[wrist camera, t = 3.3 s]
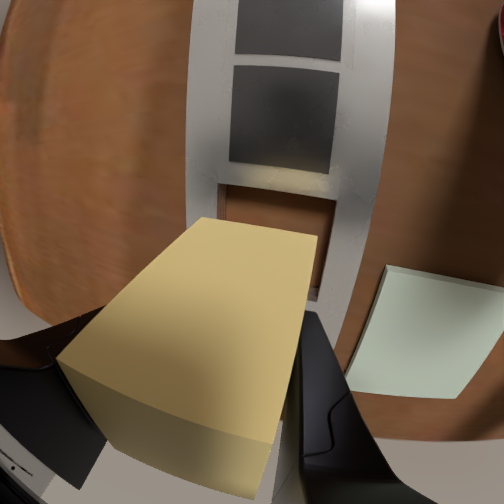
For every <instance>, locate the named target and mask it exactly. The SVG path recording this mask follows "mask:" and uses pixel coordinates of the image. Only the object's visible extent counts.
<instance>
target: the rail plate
mask: <svg viewBox="0 0 504 504" xmlns="http://www.w3.org/2000/svg"><path fill="white" fill-rule="evenodd" d="M394 49H395V0H194V5H193V15H192V25H191V37H190V50H189V65H188V84H187V109H186V221H187V229H188V228H190V227H191V226H192V225H193V224H194V223H195V222H196V221H198V220H199V219H200V218H201V217H205V218H211V219H218V220H224V221H225V219H226V187H227V184H230V185H239V186H246V187H254V188H261V189H269V190H276V191H282V192H289V193H295V194H302V195H308V196H314V197H320V198H326V199H331V200H336V203H335V209H334V215H333V221H332V226H331V232H330V237H329V242H328V247H327V252H326V257H325V262H324V267H323V272H322V277H321V281H320V286H319V288H315V287H310V286H309V290H308V295H307V301H306V306H305V310H308V311H313V312H316V313H317V314H318V316H319V319H320V321H321V323H322V325H323V328H324V330H325V332H326V335H327V337H328V339H329V341H330V344H331V346H332V348H333V350H334V347H335V345H336V342H337V339H338V336H339V333H340V330H341V327H342V324H343V321H344V318H345V314H346V311H347V308H348V305H349V302H350V298H351V295H352V291H353V288H354V285H355V281H356V277H357V274H358V270H359V267H360V263H361V259H362V255H363V251H364V247H365V243H366V239H367V235H368V231H369V226H370V222H371V218H372V213H373V208H374V204H375V199H376V194H377V189H378V184H379V178H380V173H381V167H382V161H383V155H384V148H385V142H386V135H387V127H388V120H389V111H390V102H391V92H392V81H393V67H394Z"/></svg>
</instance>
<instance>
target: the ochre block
mask: <svg viewBox="0 0 504 504" xmlns="http://www.w3.org/2000/svg"><path fill="white" fill-rule="evenodd" d="M317 238H318V236H314V235H308V234H303V233H297V232H291V231H285V230H279V229H273V228H268V227H262V226H255V225H249V224H243V223H237V222H231V221H224V220H218V219H211V218H205V217H201V218H200V219H199V220H198V221H196V222H195V223H194V224H193V225H192V226H191V227H190V228H188V229H187V230H186V231H185V232H184V233H183V234H182V235H181V236H180V237H178V238H177V239H176V240H175V241H174V242H173V243H172V244H171V245H170V246H168V247H167V248H166V249H165V250H164V251H163V252H162V253H161V254H160V255H159V256H158V257H156V258H155V259H154V260H153V261H152V262H151V263H150V264H149V265H148V266H147V267H146V268H145V269H144V270H143V271H141V272H140V273H139V274H138V275H137V276H136V277H135V278H134V279H133V280H132V281H131V282H130V283H129V284H128V285H127V286H126V287H125V288H124V289H123V290H122V291H121V292H120V293H119V294H118V295H117V296H116V297H114V298H113V299H112V300H111V301H110V302H109V303H108V304H107V305H106V306H105V307H104V308H103V309H102V310H101V311H100V312H99V313H98V314H97V315H96V316H95V317H94V318H93V320H92V321H91V322H90V323H89V324H88V325H87V326H86V327H85V328H84V329H83V330H82V331H81V332H80V333H79V334H78V335H77V336H76V337H75V338H74V339H73V340H72V341H71V342H70V343H69V345H68V346H67V347H66V348H65V349H64V350H63V351H62V352H61V353H60V354H59V355H58V356H57V357H56V360H57V361H58V363H59V365H60V367H61V369H62V371H63V372H64V374H65V376H66V378H67V379H68V381H69V383H70V385H71V386H72V388H73V390H74V391H75V393H76V394H77V396H78V398H79V399H80V401H81V402H82V404H83V405H84V407H85V409H86V410H87V412H88V413H89V414H90V416H91V417H92V419H93V420H94V422H95V423H96V425H97V426H98V427H99V429H100V430H101V432H102V433H103V434H104V436H105V437H106V438H107V440H108V441H109V442H110V443H111V445H112V446H113V447H114V448H115V449H116V450H118V451H121V452H122V453H124V454H126V455H128V456H130V457H132V458H134V459H137V460H139V461H141V462H143V463H145V464H147V465H150V466H152V467H154V468H156V469H159V470H161V471H164V472H166V473H169V474H171V475H173V476H176V477H179V478H181V479H184V480H187V481H189V482H192V483H195V484H198V485H201V486H204V487H207V488H211V489H214V490H217V491H221V492H224V493H227V494H231V495H235V496H238V497H242V498H247V499H251V500H254V498H255V495H256V493H257V490H258V487H259V484H260V481H261V478H262V475H263V473H264V470H265V466H266V463H267V461H268V457H269V454H270V451H271V448H272V445H273V442H274V438H275V434H276V431H277V427H278V423H279V420H280V416H281V412H282V408H283V404H284V400H285V396H286V392H287V388H288V384H289V380H290V375H291V371H292V367H293V362H294V358H295V354H296V349H297V345H298V340H299V335H300V330H301V326H302V321H303V316H304V311H305V306H306V301H307V295H308V290H309V285H310V279H311V274H312V268H313V262H314V256H315V250H316V244H317Z"/></svg>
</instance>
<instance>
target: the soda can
mask: <svg viewBox="0 0 504 504" xmlns="http://www.w3.org/2000/svg"><path fill="white" fill-rule="evenodd" d="M498 24H499V36H500V42H501V46H502V51H503V54H504V1H503V3H502V5H501V8H500V12H499V22H498Z"/></svg>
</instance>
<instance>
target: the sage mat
mask: <svg viewBox="0 0 504 504" xmlns="http://www.w3.org/2000/svg"><path fill="white" fill-rule="evenodd" d="M503 331H504V288H503V287H498V286H493V285H488V284H483V283H478V282H473V281H468V280H463V279H458V278H453V277H448V276H443V275H438V274H433V273H428V272H423V271H417V270H412V269H407V268H402V267H397V266H391V265H386V267H385V270H384V273H383V276H382V279H381V282H380V286H379V289H378V291H377V294H376V297H375V300H374V303H373V306H372V309H371V311H370V314H369V317H368V320H367V322H366V325H365V327H364V330H363V333H362V335H361V338H360V340H359V343H358V345H357V348H356V350H355V352H354V355H353V357H352V359H351V362H350V364H349V366H348V369H347V371H346V373H345V375H344V376H345V379H346V381H347V383H348V386H349V388H350V390H351V391H358V392H367V393H375V394H385V395H395V396H408V397H423V398H449V399H456V397H457V396H458V395H459V394H460V393H461V391H462V390H463V389H464V387H465V386H466V385H467V384H468V382H469V381H470V380H471V378H472V377H473V376H474V374H475V373H476V372H477V370H478V369H479V367H480V366H481V365H482V363H483V362H484V360H485V359H486V357H487V356H488V354H489V353H490V351H491V350H492V348H493V347H494V345H495V344H496V342H497V341H498V339H499V337H500V336H501V334H502V332H503Z"/></svg>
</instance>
